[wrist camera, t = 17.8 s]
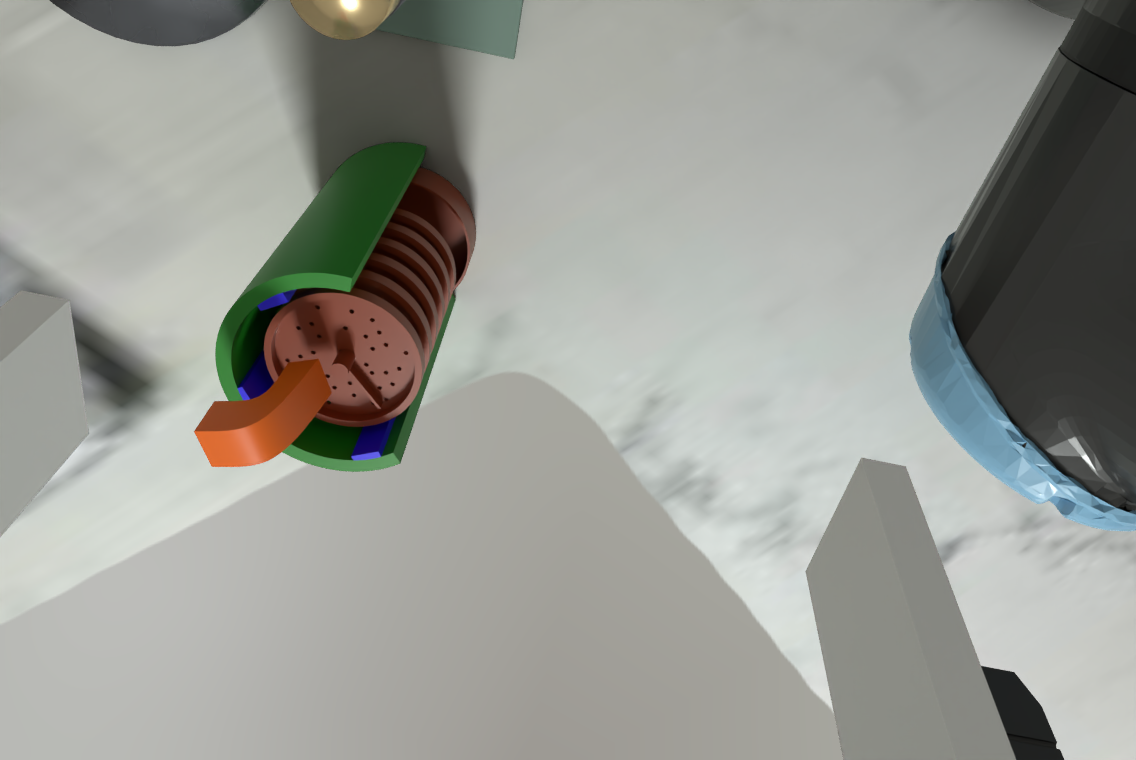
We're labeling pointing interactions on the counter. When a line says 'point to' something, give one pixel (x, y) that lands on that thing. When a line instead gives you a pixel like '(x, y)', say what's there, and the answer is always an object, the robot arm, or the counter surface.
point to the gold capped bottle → (345, 16)
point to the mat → (460, 23)
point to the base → (162, 18)
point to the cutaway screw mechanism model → (343, 320)
